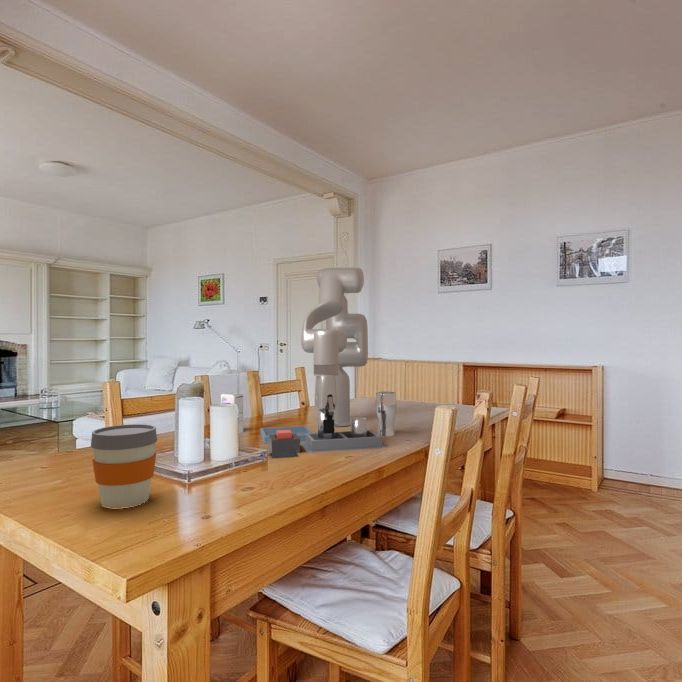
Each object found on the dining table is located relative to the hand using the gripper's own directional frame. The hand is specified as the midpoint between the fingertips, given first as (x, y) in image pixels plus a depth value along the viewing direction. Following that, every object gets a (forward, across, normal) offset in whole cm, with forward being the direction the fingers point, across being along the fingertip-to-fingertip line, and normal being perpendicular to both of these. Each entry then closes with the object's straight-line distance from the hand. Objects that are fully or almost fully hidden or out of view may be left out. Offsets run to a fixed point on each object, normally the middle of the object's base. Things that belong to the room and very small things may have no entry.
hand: (326, 430), depth 145 cm
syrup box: (+6, -28, -27) cm, 39 cm away
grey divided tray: (+6, 0, +5) cm, 8 cm away
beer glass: (+6, -12, +23) cm, 27 cm away
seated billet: (+5, 0, +10) cm, 11 cm away
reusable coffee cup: (+6, +34, -50) cm, 61 cm away
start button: (+2, +2, -13) cm, 13 cm away
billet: (+2, 0, 0) cm, 2 cm away
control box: (+6, +2, -13) cm, 14 cm away
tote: (+6, -16, -10) cm, 20 cm away
